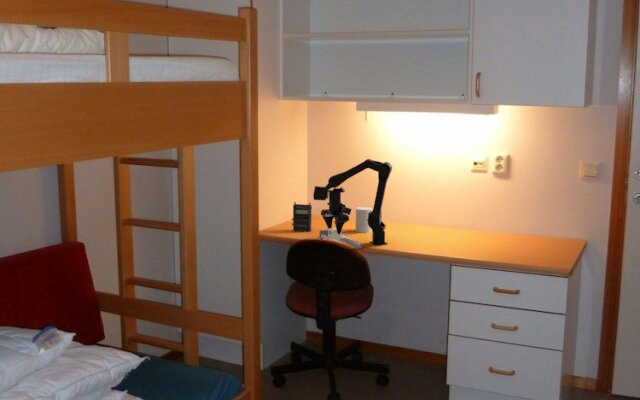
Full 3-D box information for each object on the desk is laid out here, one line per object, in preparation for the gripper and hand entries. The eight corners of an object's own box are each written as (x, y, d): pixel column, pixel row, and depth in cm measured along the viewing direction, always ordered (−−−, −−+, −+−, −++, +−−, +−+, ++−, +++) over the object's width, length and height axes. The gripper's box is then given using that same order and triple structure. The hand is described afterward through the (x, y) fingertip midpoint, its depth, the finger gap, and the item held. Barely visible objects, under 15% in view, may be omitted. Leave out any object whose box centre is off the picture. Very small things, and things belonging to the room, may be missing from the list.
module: (341, 239, 351) (341, 229, 350) (332, 240, 348) (332, 230, 348) (336, 237, 355) (336, 227, 354) (327, 238, 353) (327, 228, 352)
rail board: (362, 247, 338) (362, 239, 338) (343, 249, 334) (343, 241, 333) (335, 236, 361) (336, 228, 360) (318, 238, 357) (318, 230, 356)
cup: (371, 229, 379) (371, 207, 377) (370, 232, 371) (371, 210, 369) (355, 229, 380) (356, 206, 378) (355, 232, 372) (355, 209, 370)
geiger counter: (290, 231, 373) (290, 202, 371) (293, 229, 378) (293, 201, 375) (310, 232, 371) (310, 203, 369) (312, 230, 375) (312, 202, 373)
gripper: (358, 202, 344) (358, 234, 347) (340, 196, 360) (339, 227, 363) (338, 204, 339) (338, 236, 342) (320, 198, 355) (320, 229, 358)
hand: (334, 232), depth 351 cm, fingers open, 9 cm apart
